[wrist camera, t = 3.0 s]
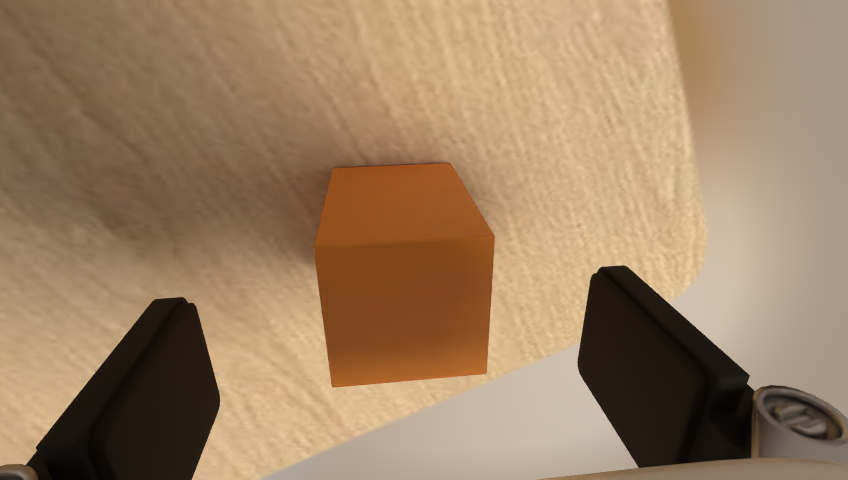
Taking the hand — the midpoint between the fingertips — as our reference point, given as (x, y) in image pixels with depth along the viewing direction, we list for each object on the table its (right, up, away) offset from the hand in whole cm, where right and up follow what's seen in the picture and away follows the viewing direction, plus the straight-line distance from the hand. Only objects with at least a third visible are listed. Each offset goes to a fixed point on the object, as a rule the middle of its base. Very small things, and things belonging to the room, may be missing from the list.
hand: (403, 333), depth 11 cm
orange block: (-1, +3, +5) cm, 6 cm away
